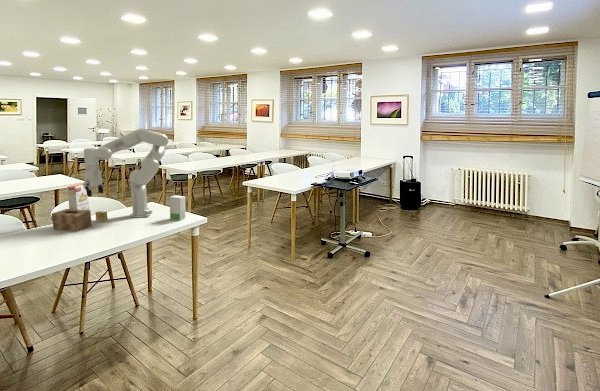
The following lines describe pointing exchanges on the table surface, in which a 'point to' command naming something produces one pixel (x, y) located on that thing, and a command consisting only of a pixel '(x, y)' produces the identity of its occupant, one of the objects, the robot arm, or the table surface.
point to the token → (101, 216)
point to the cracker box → (78, 197)
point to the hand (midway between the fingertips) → (95, 194)
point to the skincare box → (177, 207)
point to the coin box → (71, 220)
